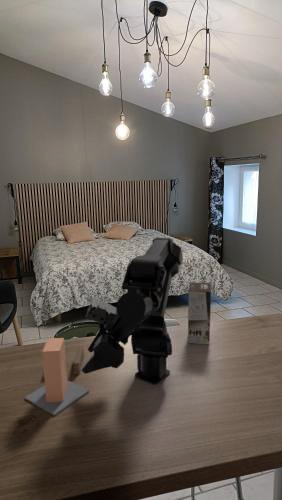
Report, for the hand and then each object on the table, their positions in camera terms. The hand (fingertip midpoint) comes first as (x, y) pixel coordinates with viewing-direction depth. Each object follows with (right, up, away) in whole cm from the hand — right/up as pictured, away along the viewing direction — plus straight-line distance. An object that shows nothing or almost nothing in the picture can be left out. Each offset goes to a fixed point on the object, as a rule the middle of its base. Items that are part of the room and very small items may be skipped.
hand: (86, 360), depth 77 cm
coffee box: (+30, -2, +28) cm, 41 cm away
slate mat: (-7, -8, +1) cm, 11 cm away
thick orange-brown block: (-7, -8, +1) cm, 10 cm away
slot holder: (-7, -5, +14) cm, 16 cm away
